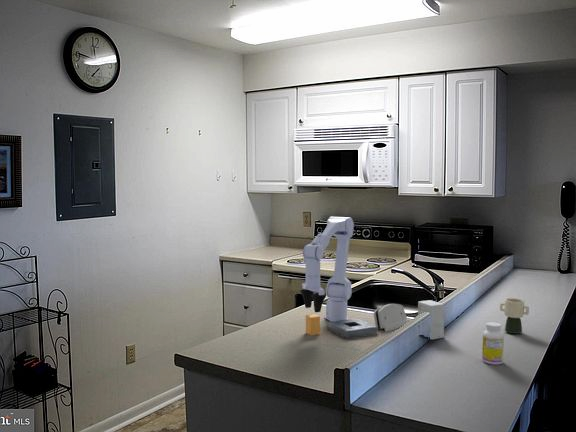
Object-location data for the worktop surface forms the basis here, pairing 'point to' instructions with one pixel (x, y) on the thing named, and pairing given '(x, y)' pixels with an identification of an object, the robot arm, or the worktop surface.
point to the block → (313, 324)
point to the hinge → (390, 317)
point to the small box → (434, 317)
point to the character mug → (514, 314)
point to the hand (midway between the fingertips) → (312, 309)
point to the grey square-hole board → (352, 328)
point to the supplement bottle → (493, 344)
